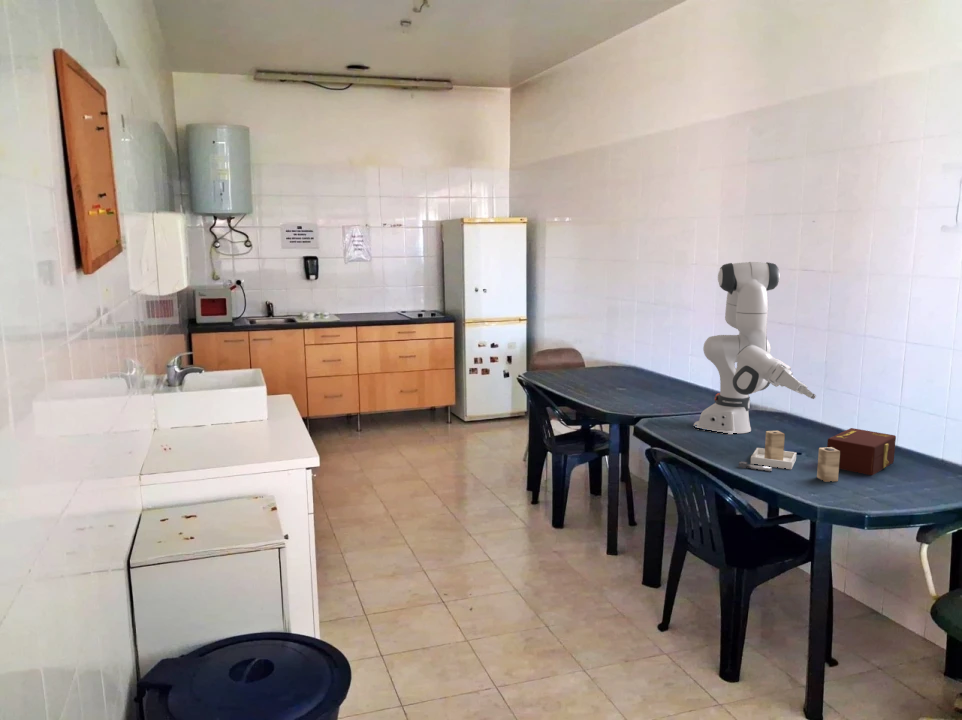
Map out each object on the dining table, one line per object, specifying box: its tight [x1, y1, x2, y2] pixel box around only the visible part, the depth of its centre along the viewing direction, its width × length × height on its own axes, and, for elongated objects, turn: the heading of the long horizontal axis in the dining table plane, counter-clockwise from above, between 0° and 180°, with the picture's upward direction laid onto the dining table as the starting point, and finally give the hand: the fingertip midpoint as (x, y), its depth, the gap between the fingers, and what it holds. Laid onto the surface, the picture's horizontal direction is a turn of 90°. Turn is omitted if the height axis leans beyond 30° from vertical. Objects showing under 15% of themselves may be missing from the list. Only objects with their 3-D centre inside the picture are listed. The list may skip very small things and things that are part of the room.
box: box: [826, 427, 897, 476], centre depth 252 cm, size 21×16×10 cm
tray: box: [750, 447, 797, 470], centre depth 256 cm, size 13×13×2 cm
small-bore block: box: [764, 430, 786, 461], centre depth 255 cm, size 4×4×10 cm
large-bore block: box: [816, 447, 840, 483], centre depth 236 cm, size 4×4×10 cm
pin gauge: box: [738, 461, 773, 472], centre depth 248 cm, size 10×2×2 cm, turn 61°
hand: (813, 396), depth 260 cm, fingers open, 8 cm apart
